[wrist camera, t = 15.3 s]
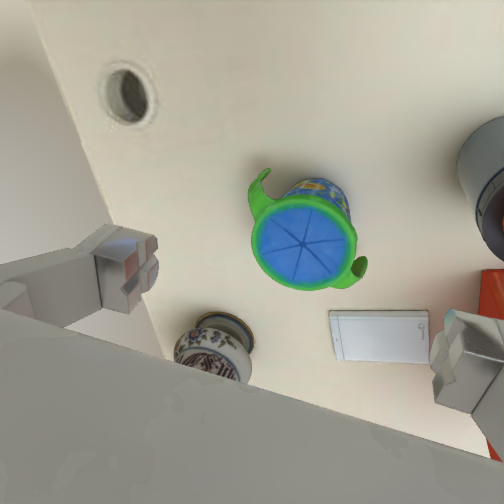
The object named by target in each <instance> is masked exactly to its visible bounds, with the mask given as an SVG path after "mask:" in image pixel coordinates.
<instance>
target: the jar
mask: <svg viewBox="0 0 504 504" xmlns="http://www.w3.org/2000/svg"><path fill="white" fill-rule="evenodd" d="M456 168H457V175H458V179H459V181H460V184H461V186H462V189H463V191H464V194H465V196H466V199H467V201H468V204H469V206H470V209H471V211H472V214H473V216H474V219H475V221H476V224H477V226H478V229H479V231H480V232H481V230H480V227H479V224H478V217H477V213H478V210H477V208H478V206H479V202H480V199H481V197H482V194H483V193H484V191H485V189H486V188H487V186H488V185H489V184H490V181H492V180H493V179H494V178H495V177H496V176H497V175H498V174H500V173H501V172H502V171H503V170H504V116H503V117H499V118H497V119H494V120H492V121H490V122H488V123H486V124H484V125H483V126H481V127H480V128H478V129H477V130H476V131H475V132H474V133H473V134H472V135H471V136H470V137H469V138H468V139H467V140H466V142H465V143H464V145H463V146H462V148H461V150H460V153H459V155H458V159H457V167H456ZM481 233H482V232H481Z"/></svg>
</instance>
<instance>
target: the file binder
mask: <svg viewBox="0 0 504 504" xmlns="http://www.w3.org/2000/svg"><path fill="white" fill-rule="evenodd" d="M478 315H481V316H485V317H489V318H496V319H501V320H504V270H486V271H482V280H481V289H480V299H479V309H478ZM486 440H487V438H486ZM487 445H488V449H489V453H490V457H491V459H493V460H497V461H500V462H503V461H502V460H501V459H500V457H499V456H498V454H497V453H496V451H495V450H494V448H493V447H492V446H491V444H490V443H489V441H488V440H487Z"/></svg>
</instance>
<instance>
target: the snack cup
mask: <svg viewBox="0 0 504 504" xmlns="http://www.w3.org/2000/svg"><path fill="white" fill-rule="evenodd" d="M270 172H271V169H270V168H268V169H266V170H264V171H263V172H262V173H261V174H260V175H259V176H258V177H257V178H256V179H255V181H254V182H253V183H252V184H251V185H250V187H249V189H248V202H249V206H250V209H251V212H252V214H253V217H254V220H255V225H254V227H253V231H252V237H251V246H252V250H253V254H254V256H255V258H256V260H257V262H258V264H259V265H260V267H261V268H262V269H263V271H264V272H265V273H266V274H267V275H268V276H269V277H271V278H272V279H273V280H275V281H276V282H278V283H280V284H282V285H284V286H287V287H289V288H293V289H297V290H304V291H313V290H320V289H324V288H327V287H333V288H338V289H345V288H348V287H350V286H352V285H353V284H354V283H356V282H357V281H359V280H360V279H361V278H362V277H363V275H364V274H365V272H366V269H367V265H368V260H367V258H366V257H365V256H361V257H358V258H357V259H356V260H355V261H354V258H355V255H356V242H357V234H356V231H355V229H354V227H353V226H352V224H351V218H350V211H349V205H348V201H347V199H346V197H345V196H344V194H343V192H342V191H341V190H340V189H339V188H338V187H337V186H335V185H334V184H331V183H330V182H328V181H326V180H324V179H309V180H305V181H302V182H299V183H298V184H296V185H295V186H294V187H292V188H291V189H290V190H289V191H288V192H287V193H286V194H285V195H284V196H283V197H281V198H280V199H277V200H276V199H275V200H274V199H271V198H270V197H268V196H267V195H266V194H265V193H264V189H263V186H262V183H261V181H262V180H263V179H264V178H265V177H266V176H267V175H268V174H269V173H270Z"/></svg>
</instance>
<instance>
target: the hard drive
mask: <svg viewBox="0 0 504 504" xmlns="http://www.w3.org/2000/svg"><path fill="white" fill-rule="evenodd" d="M329 320H330V326H331V332H332V338H333V344H334V349H335V355H336V360H346V361H367V362H389V363H411V364H430V360H429V318H428V311H330V313H329Z"/></svg>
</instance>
